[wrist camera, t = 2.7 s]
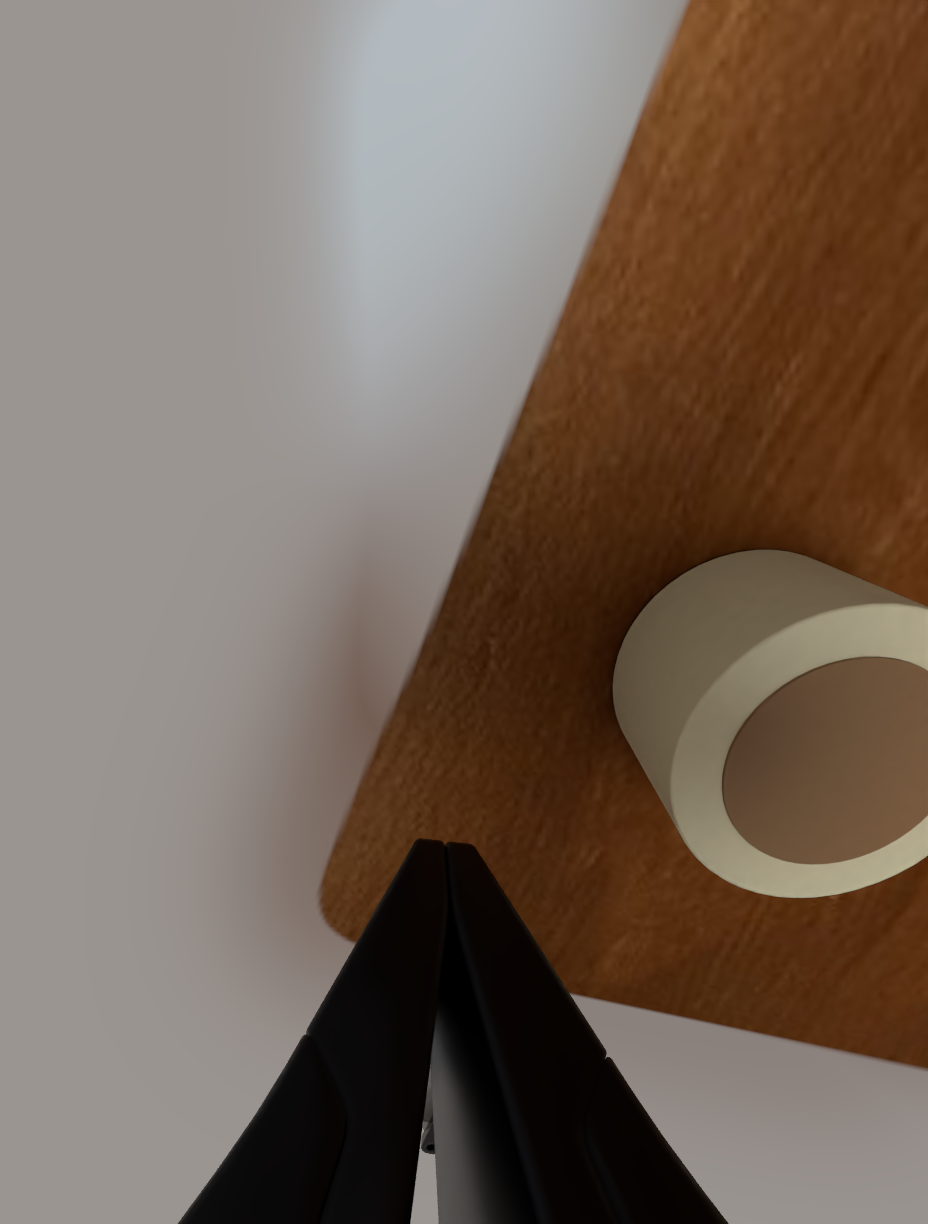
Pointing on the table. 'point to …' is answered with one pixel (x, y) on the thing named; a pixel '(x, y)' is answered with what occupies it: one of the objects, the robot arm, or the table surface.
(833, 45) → the table surface
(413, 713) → the table surface
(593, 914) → the table surface
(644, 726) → the tape
